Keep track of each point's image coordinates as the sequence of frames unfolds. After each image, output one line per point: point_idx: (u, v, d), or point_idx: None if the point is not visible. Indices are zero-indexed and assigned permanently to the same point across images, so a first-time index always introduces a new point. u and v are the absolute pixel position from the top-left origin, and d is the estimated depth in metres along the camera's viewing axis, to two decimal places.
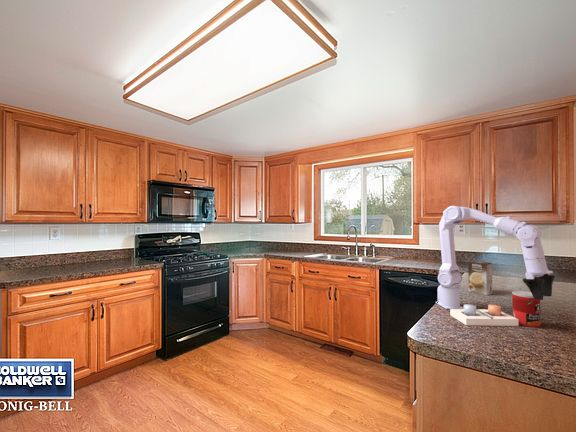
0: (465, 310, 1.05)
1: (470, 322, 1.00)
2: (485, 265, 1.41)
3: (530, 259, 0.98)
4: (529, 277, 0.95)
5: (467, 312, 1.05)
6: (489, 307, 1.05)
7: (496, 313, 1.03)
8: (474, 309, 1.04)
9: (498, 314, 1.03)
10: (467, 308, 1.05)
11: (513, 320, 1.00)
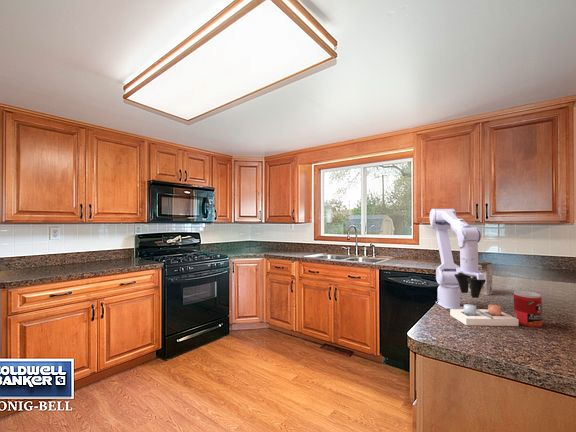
0: (465, 310, 1.05)
1: (470, 322, 1.00)
2: (485, 265, 1.41)
3: None
4: None
5: (467, 312, 1.05)
6: (489, 307, 1.05)
7: (496, 313, 1.03)
8: (474, 309, 1.04)
9: (498, 314, 1.03)
10: (467, 308, 1.05)
11: (513, 320, 1.00)
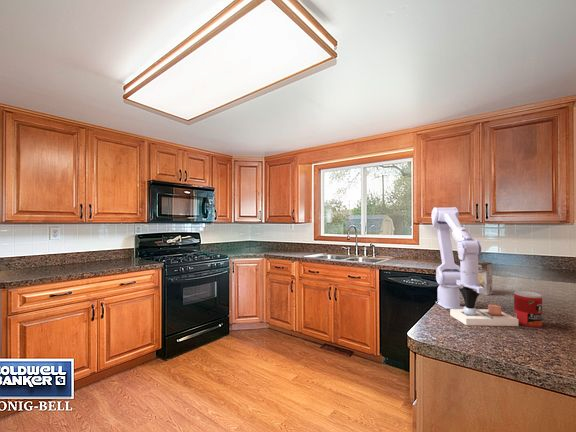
0: (465, 312, 1.05)
1: (470, 322, 1.00)
2: (485, 265, 1.41)
3: None
4: None
5: (467, 314, 1.05)
6: (489, 307, 1.05)
7: (496, 313, 1.03)
8: (474, 311, 1.04)
9: (498, 314, 1.03)
10: (467, 310, 1.05)
11: (513, 320, 1.00)
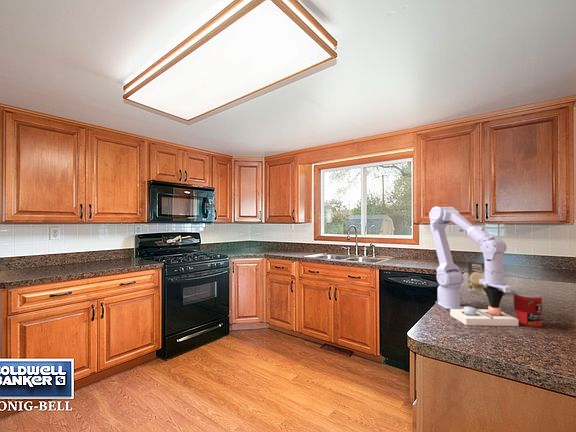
0: (465, 312, 1.05)
1: (470, 322, 1.00)
2: None
3: None
4: None
5: (467, 314, 1.05)
6: (489, 308, 1.05)
7: (496, 314, 1.03)
8: (474, 311, 1.04)
9: (498, 315, 1.03)
10: (467, 310, 1.05)
11: (513, 320, 1.00)
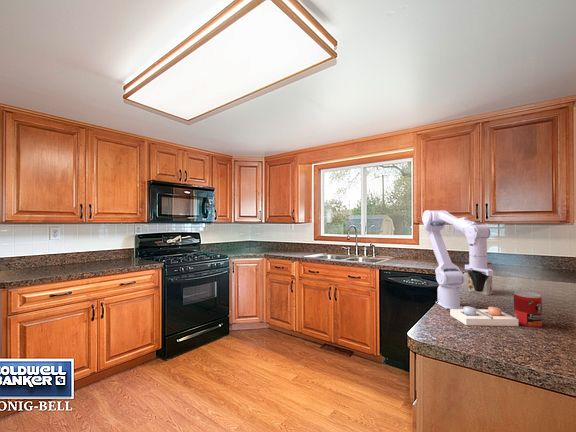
0: (465, 312, 1.05)
1: (470, 322, 1.00)
2: None
3: None
4: None
5: (467, 314, 1.05)
6: (489, 309, 1.05)
7: (496, 315, 1.03)
8: (474, 311, 1.04)
9: None
10: (467, 310, 1.05)
11: (513, 320, 1.00)
